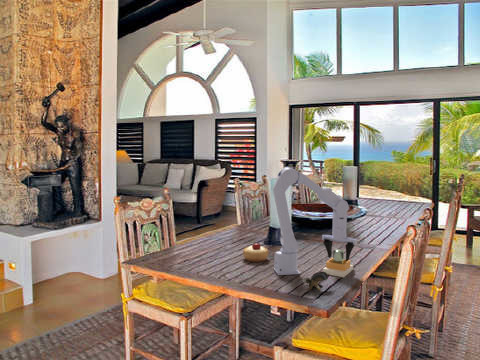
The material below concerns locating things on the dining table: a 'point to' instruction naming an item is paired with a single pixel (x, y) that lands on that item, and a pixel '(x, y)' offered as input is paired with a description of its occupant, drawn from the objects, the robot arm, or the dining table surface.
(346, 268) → the orange and cream box
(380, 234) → the dining table surface
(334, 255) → the green can
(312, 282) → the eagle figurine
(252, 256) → the pastry
